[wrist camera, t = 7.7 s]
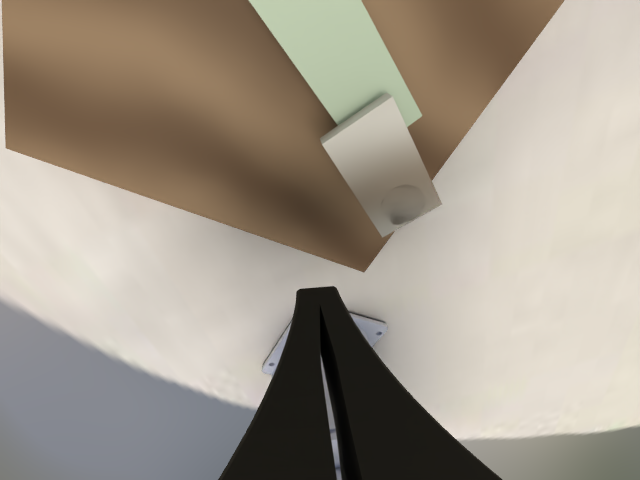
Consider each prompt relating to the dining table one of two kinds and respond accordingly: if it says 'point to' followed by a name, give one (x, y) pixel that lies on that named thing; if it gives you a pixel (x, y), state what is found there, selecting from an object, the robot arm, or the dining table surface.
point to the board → (254, 110)
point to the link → (337, 54)
